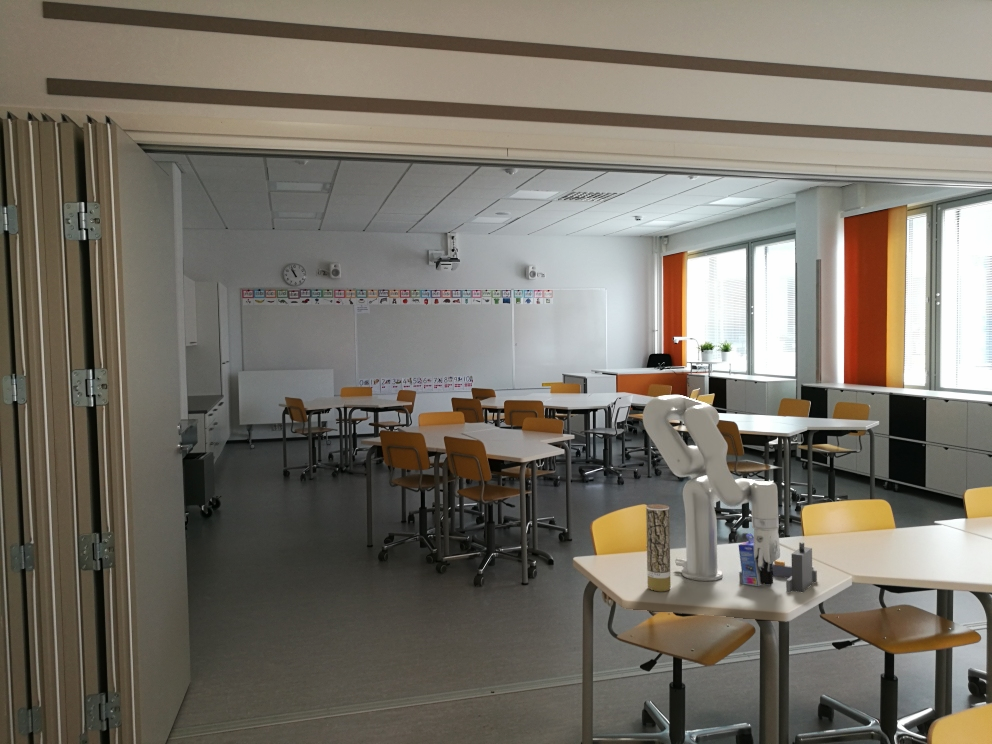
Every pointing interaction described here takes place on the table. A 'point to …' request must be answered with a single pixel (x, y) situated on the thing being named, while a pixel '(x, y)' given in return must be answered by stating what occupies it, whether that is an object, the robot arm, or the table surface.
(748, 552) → the ink cartridge box
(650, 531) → the paper tube
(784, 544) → the table surface
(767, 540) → the robot arm
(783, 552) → the table surface
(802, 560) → the grey bracket fixture
